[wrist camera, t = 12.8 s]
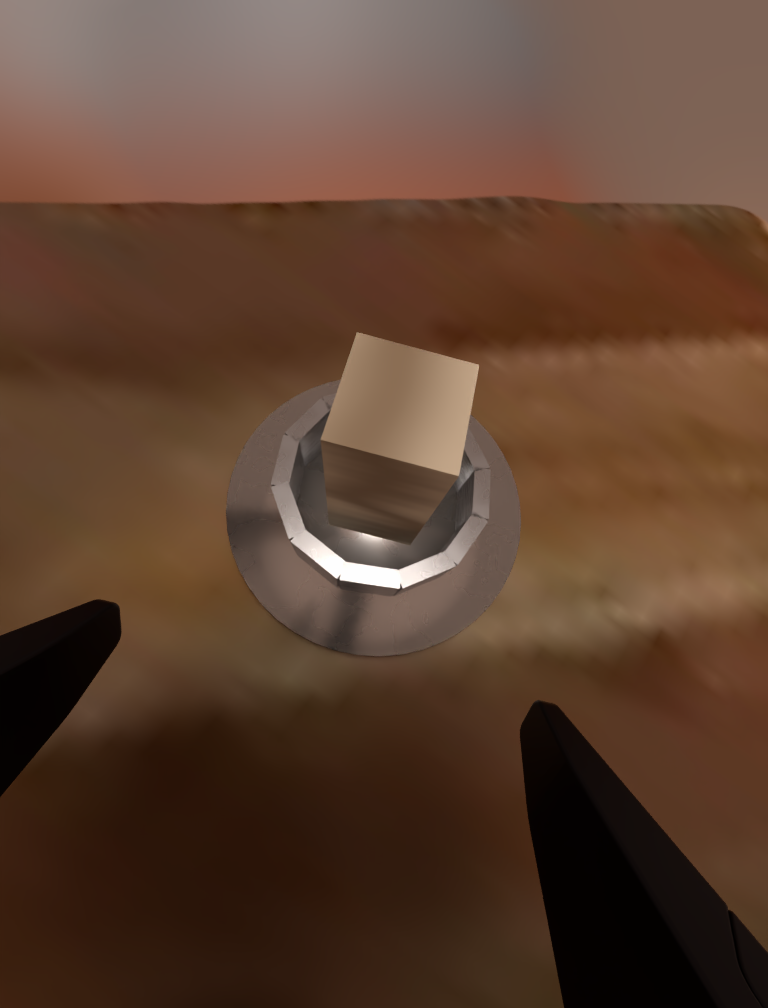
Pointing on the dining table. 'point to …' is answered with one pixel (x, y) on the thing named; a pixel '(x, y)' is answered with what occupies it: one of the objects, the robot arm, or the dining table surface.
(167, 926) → the dining table surface
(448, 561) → the steel rosette
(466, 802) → the dining table surface
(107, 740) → the dining table surface
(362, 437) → the wedge pin
